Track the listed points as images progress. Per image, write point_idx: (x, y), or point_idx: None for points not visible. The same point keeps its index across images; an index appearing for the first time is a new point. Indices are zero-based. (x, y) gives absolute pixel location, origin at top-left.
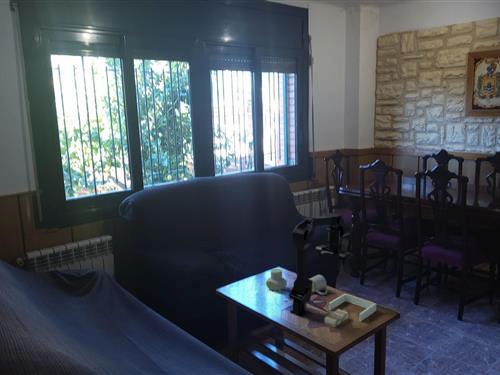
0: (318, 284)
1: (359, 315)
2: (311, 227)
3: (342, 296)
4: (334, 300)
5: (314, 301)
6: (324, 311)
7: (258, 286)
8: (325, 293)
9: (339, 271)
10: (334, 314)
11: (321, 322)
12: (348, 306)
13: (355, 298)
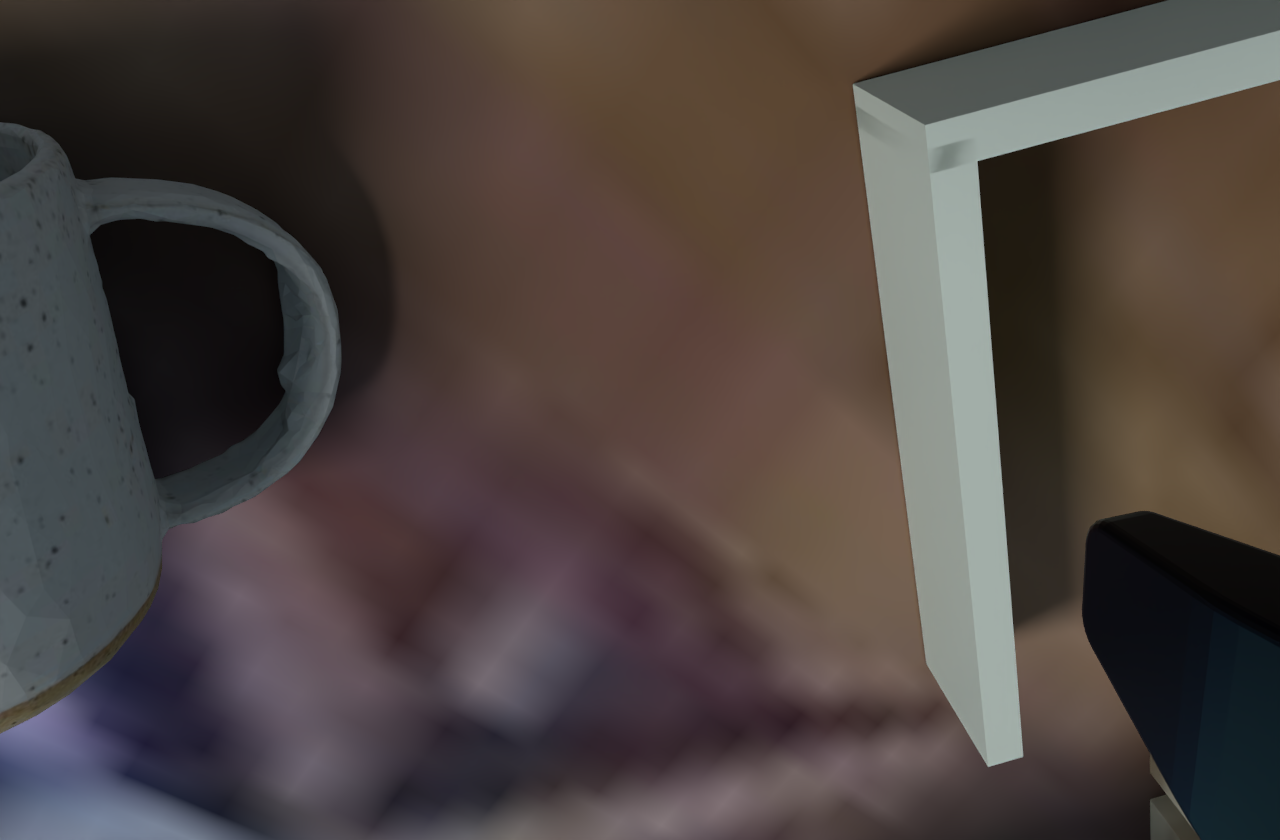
0: (105, 548)
1: None
2: None
3: (985, 317)
4: (996, 619)
5: (492, 689)
6: (912, 746)
7: None
8: (333, 320)
9: (1099, 648)
10: None
11: None
12: (1109, 255)
13: (1277, 70)
